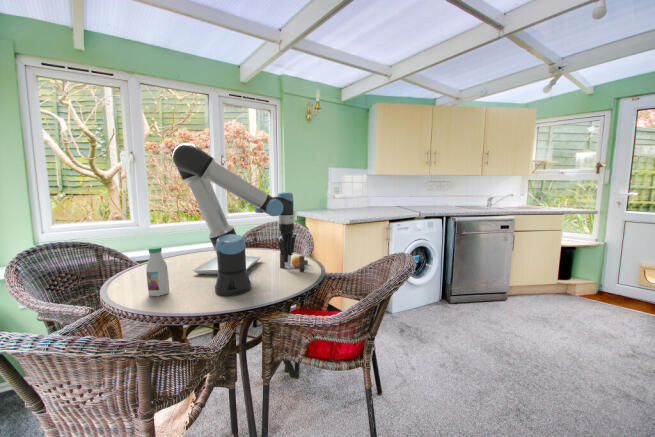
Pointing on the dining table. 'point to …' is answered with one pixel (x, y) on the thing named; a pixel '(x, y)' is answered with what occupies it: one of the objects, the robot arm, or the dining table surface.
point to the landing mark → (298, 267)
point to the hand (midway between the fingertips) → (287, 267)
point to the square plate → (212, 265)
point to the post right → (301, 264)
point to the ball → (295, 261)
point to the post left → (282, 261)
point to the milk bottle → (157, 273)
